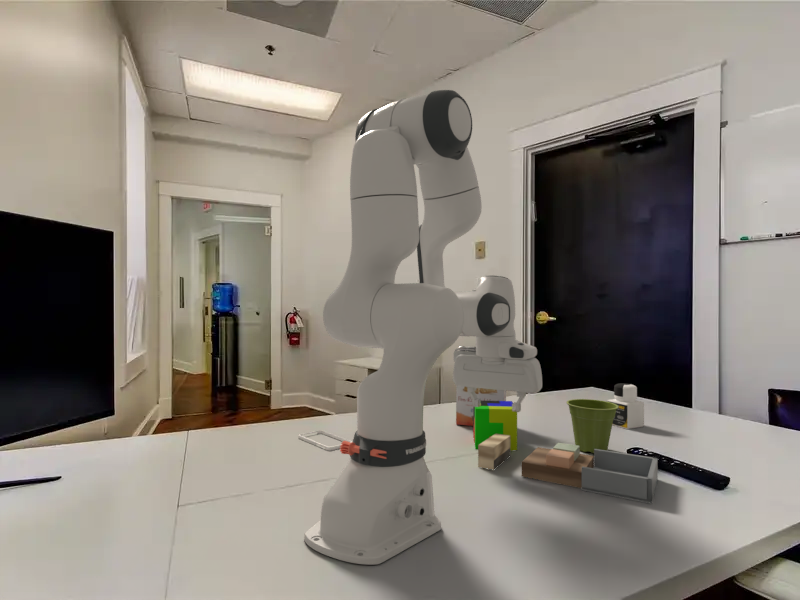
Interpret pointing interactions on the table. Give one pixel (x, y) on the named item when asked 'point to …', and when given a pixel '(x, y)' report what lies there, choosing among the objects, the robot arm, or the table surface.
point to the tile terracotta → (560, 458)
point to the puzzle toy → (494, 422)
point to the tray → (621, 475)
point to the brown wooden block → (555, 468)
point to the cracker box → (465, 402)
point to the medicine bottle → (627, 407)
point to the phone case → (320, 443)
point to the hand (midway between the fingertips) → (496, 408)
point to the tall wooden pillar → (493, 451)
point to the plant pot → (592, 423)
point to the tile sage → (568, 449)
